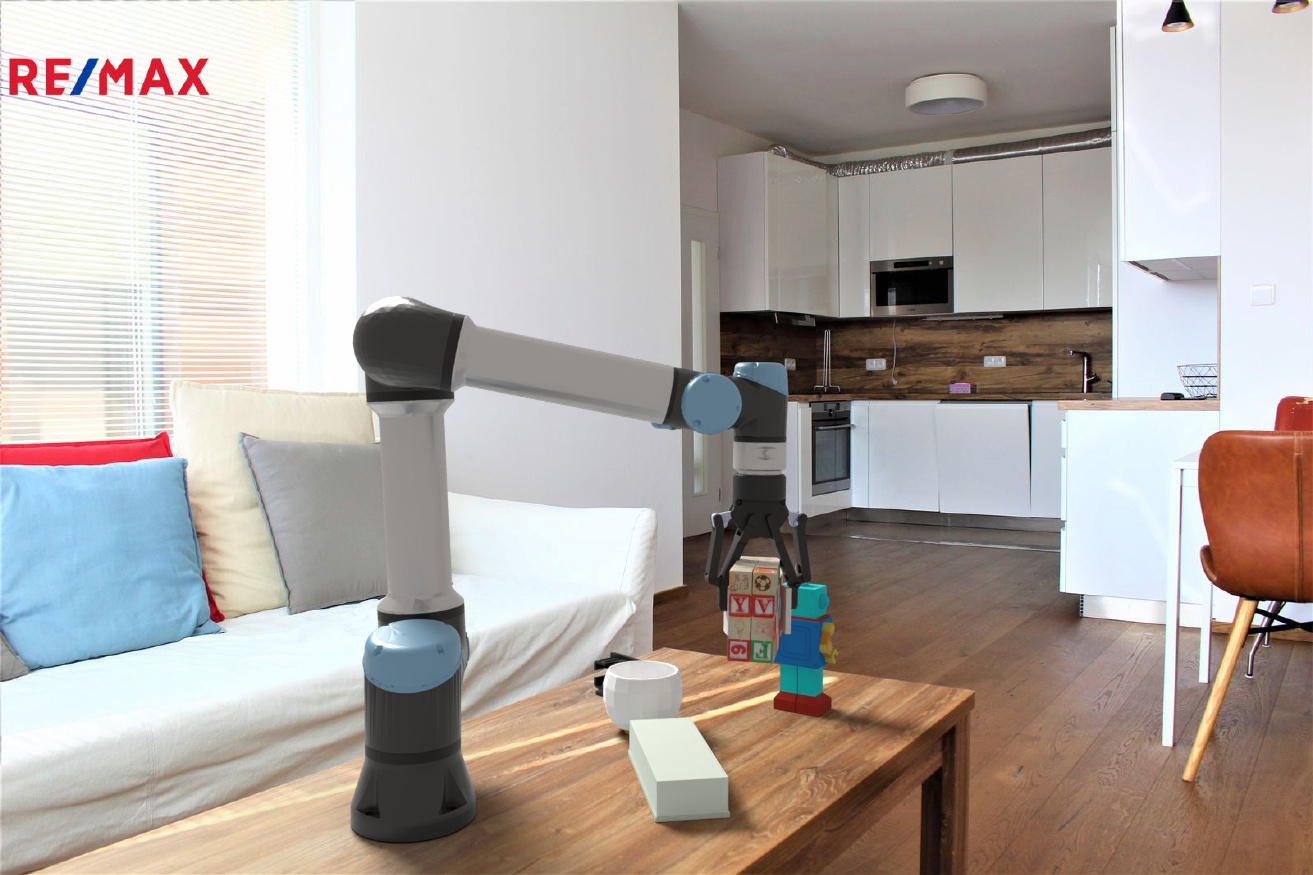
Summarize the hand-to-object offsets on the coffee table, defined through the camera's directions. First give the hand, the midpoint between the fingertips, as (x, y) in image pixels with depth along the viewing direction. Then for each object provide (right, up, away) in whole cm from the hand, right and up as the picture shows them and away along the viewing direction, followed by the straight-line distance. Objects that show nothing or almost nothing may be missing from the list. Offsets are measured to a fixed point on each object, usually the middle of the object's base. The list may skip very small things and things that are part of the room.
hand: (756, 632), depth 146 cm
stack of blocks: (0, -2, +1) cm, 2 cm away
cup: (-16, -18, +15) cm, 29 cm away
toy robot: (+10, -18, +26) cm, 33 cm away
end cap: (-20, -18, +33) cm, 43 cm away
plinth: (-12, -19, -7) cm, 23 cm away
